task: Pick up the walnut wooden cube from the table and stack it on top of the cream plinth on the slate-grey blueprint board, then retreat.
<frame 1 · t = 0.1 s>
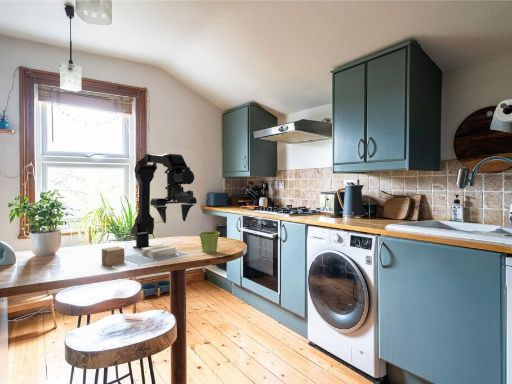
hand: (174, 222, 128), 15 cm above the table, fingers open, 9 cm apart
walnut cube: (113, 264, 118), on the table
plinth: (158, 255, 130), resting on blueprint board
plant pot: (209, 252, 137), on the table
blueprint board: (154, 257, 129), on the table
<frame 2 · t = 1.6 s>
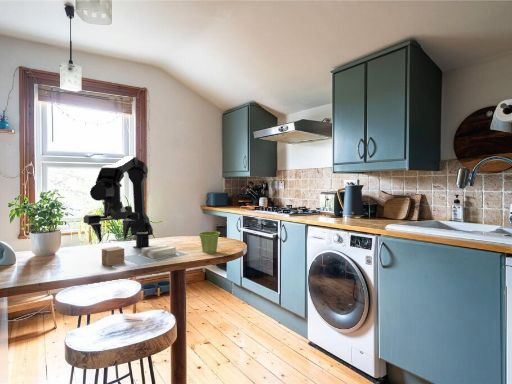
hand: (112, 240, 118), 9 cm above the table, fingers open, 9 cm apart
nothing on the table moved.
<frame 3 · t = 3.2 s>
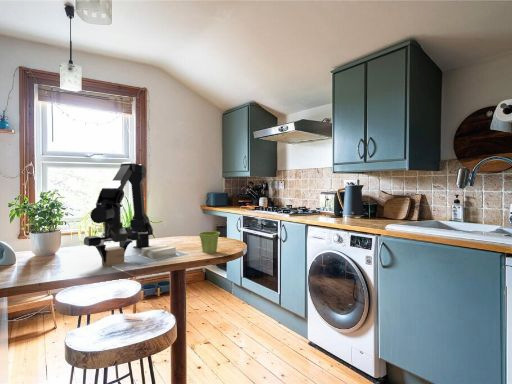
hand: (113, 260, 118), 1 cm above the table, fingers closed on walnut cube, 6 cm apart
walnut cube: (113, 263, 118), on the table, touching gripper
everything else where it was.
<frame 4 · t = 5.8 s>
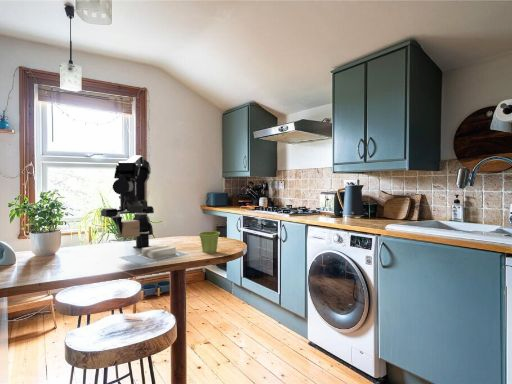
hand: (128, 232, 122), 11 cm above the table, fingers closed on walnut cube, 6 cm apart
walnut cube: (128, 236, 122), point 10 cm above the table, touching gripper
everything else where it was.
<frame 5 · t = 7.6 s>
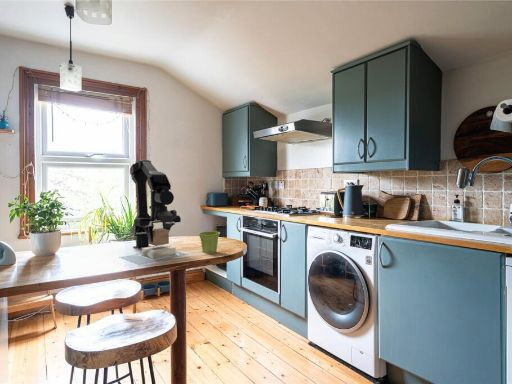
hand: (158, 240, 130), 7 cm above the table, fingers closed on walnut cube, 6 cm apart
walnut cube: (158, 243, 130), point 5 cm above the table, touching gripper
everything else where it was.
when the fingers open (6 cm above the table, at t = 8.8 s): walnut cube drops 1 cm, resting on plinth.
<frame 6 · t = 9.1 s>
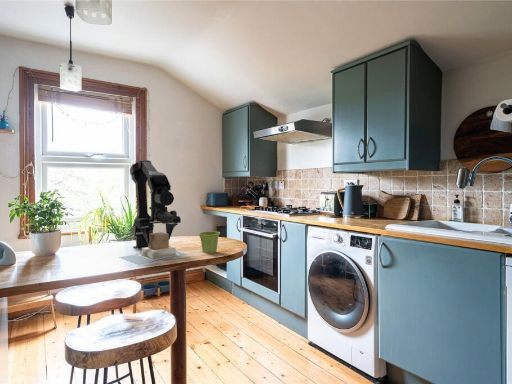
hand: (158, 241, 130), 6 cm above the table, fingers open, 9 cm apart
walnut cube: (158, 247, 130), point 4 cm above the table, touching plinth
everything else where it was.
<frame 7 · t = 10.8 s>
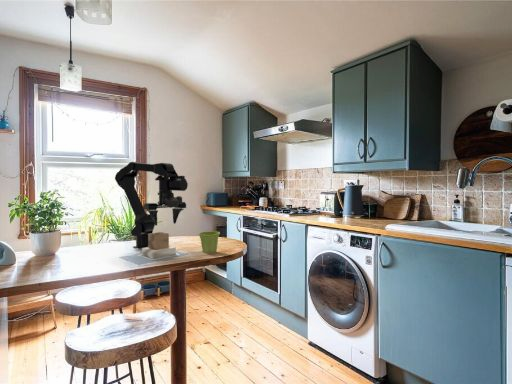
hand: (165, 224, 142), 12 cm above the table, fingers open, 9 cm apart
nothing on the table moved.
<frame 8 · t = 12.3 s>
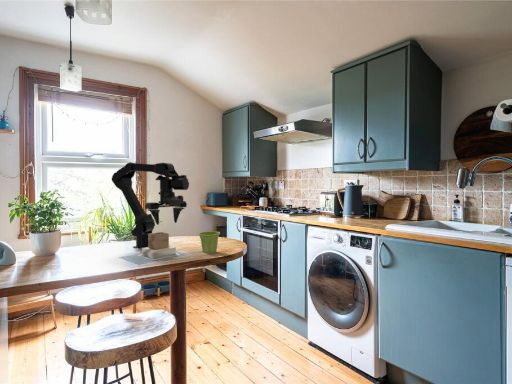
hand: (166, 223, 144), 12 cm above the table, fingers open, 9 cm apart
nothing on the table moved.
at the end: walnut cube 0.0 cm off-centre on the plinth, point 3.0 cm above the plinth's base; walnut cube tilted 0°; the gripper is holding nothing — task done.
